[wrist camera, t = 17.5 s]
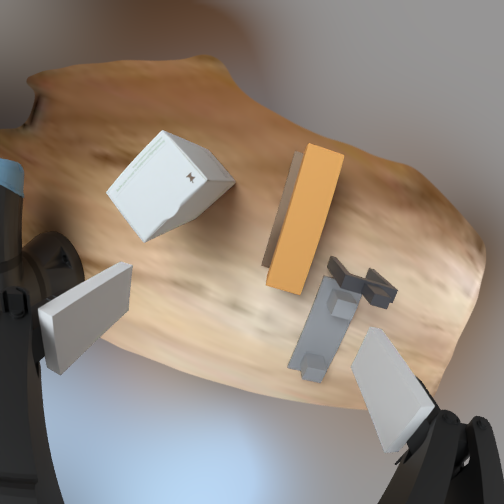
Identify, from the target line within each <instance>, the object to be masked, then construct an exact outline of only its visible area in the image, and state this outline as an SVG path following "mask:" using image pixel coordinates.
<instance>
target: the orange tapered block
mask: <svg viewBox="0 0 504 504" xmlns="http://www.w3.org/2000/svg"><path fill="white" fill-rule="evenodd" d="M343 159H344V155H342V154H339V153H337V152H334V151H331V150H328V149H325V148H322V147H319V146H316V145H313V144H310V143H308V145H307V146H306V148H305V151H304V155H303V158H302V162H301V165H300V169H299V172H298V176H297V179H296V182H295V186H294V189H293V193H292V196H291V199H290V203H289V206H288V209H287V213H286V216H285V219H284V223H283V226H282V229H281V232H280V236H279V239H278V242H277V246H276V249H275V252H274V255H273V258H272V262H271V265H270V268H269V271H268V274H267V280H266V285H267V286H270V287H273V288H277V289H280V290H284V291H287V292H291V293H294V294H298V295H300V294H301V291H302V289H303V286H304V283H305V280H306V277H307V275H308V272H309V269H310V266H311V263H312V260H313V257H314V254H315V251H316V248H317V245H318V242H319V239H320V236H321V233H322V230H323V227H324V224H325V220H326V217H327V214H328V211H329V208H330V204H331V201H332V198H333V194H334V191H335V187H336V184H337V180H338V177H339V173H340V170H341V166H342V163H343Z"/></svg>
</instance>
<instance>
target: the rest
mask: <svg viewBox="0 0 504 504" xmlns="http://www.w3.org/2000/svg"><path fill="white" fill-rule="evenodd" d="M303 155H304V153H300V152H297V151H295V153H294V157H293V160H292V164H291V167H290V171H289V174H288V178H287V181H286V184H285V188H284V191H283V195H282V198H281V201H280V205H279V208H278V211H277V215H276V218H275V222H274V225H273V228H272V232H271V235H270V238H269V242H268V245H267V248H266V251H265V255H264V258H263V261H262V266H265V267H269V268H270V265H271V262H272V258H273V255H274V252H275V249H276V246H277V242H278V239H279V236H280V232H281V229H282V226H283V223H284V219H285V216H286V213H287V209H288V206H289V203H290V199H291V196H292V193H293V189H294V186H295V182H296V179H297V176H298V172H299V169H300V165H301V162H302V158H303Z"/></svg>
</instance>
